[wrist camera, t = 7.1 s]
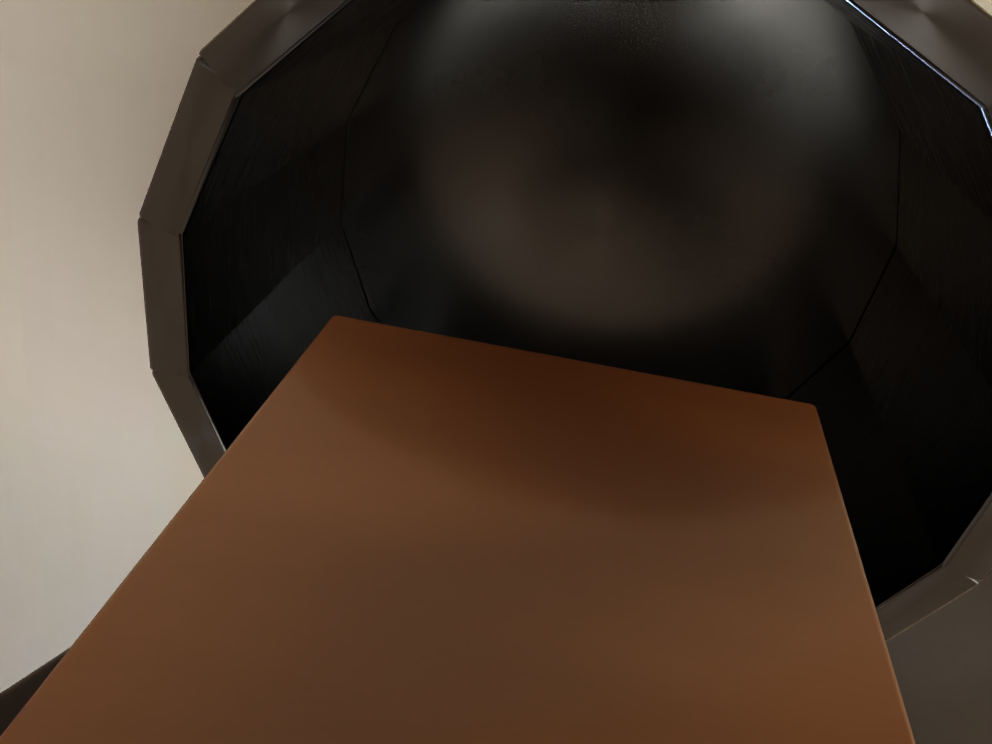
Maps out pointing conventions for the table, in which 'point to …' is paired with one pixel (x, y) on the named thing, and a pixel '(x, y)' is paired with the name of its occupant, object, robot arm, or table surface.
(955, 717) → the lid
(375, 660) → the block
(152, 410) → the table surface
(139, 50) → the table surface
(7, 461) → the table surface
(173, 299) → the pot
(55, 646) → the table surface
